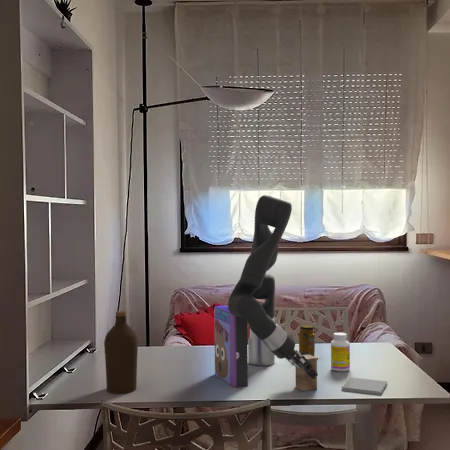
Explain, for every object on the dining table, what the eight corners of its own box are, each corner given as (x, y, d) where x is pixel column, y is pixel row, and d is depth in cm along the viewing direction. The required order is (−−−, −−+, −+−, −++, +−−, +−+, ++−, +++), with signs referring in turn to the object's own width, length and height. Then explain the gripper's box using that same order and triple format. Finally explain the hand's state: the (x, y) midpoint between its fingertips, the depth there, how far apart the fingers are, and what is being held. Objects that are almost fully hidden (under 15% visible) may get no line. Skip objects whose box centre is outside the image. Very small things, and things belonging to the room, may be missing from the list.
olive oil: (131, 395, 176) (130, 314, 176) (99, 393, 179) (98, 313, 178) (143, 385, 187) (142, 309, 186) (113, 383, 189) (112, 308, 189)
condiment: (312, 354, 227) (311, 324, 227) (320, 359, 219) (319, 328, 219) (294, 355, 226) (294, 325, 226) (302, 360, 217) (302, 329, 217)
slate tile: (341, 390, 180) (341, 387, 180) (350, 380, 191) (350, 377, 191) (380, 394, 175) (380, 391, 175) (386, 384, 186) (386, 381, 186)
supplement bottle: (350, 372, 200) (349, 336, 200) (330, 371, 201) (330, 335, 201) (349, 367, 207) (349, 332, 206) (331, 366, 208) (330, 331, 208)
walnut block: (303, 391, 179) (302, 359, 179) (295, 386, 184) (295, 355, 184) (317, 389, 181) (316, 358, 181) (309, 385, 186) (309, 354, 185)
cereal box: (214, 374, 199) (214, 305, 199) (227, 372, 201) (227, 304, 201) (234, 387, 183) (233, 313, 183) (247, 386, 185) (247, 312, 185)
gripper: (295, 335, 173) (330, 371, 177) (274, 327, 186) (307, 360, 191) (279, 354, 171) (315, 390, 175) (260, 344, 184) (293, 377, 189)
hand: (311, 374), depth 183 cm, fingers closed on walnut block, 5 cm apart
